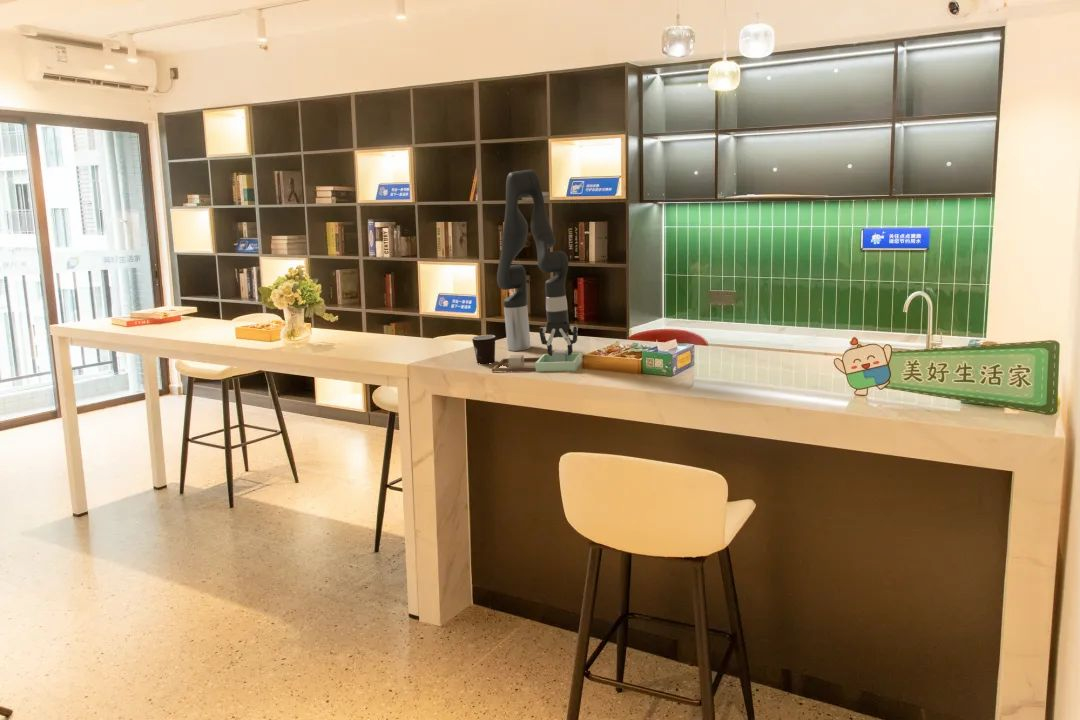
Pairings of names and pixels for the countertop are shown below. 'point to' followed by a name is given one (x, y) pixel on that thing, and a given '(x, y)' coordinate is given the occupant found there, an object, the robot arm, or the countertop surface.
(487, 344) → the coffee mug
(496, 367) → the walnut tray
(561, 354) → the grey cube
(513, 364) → the light grey cube
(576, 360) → the green dish
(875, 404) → the countertop surface
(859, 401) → the countertop surface
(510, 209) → the robot arm
